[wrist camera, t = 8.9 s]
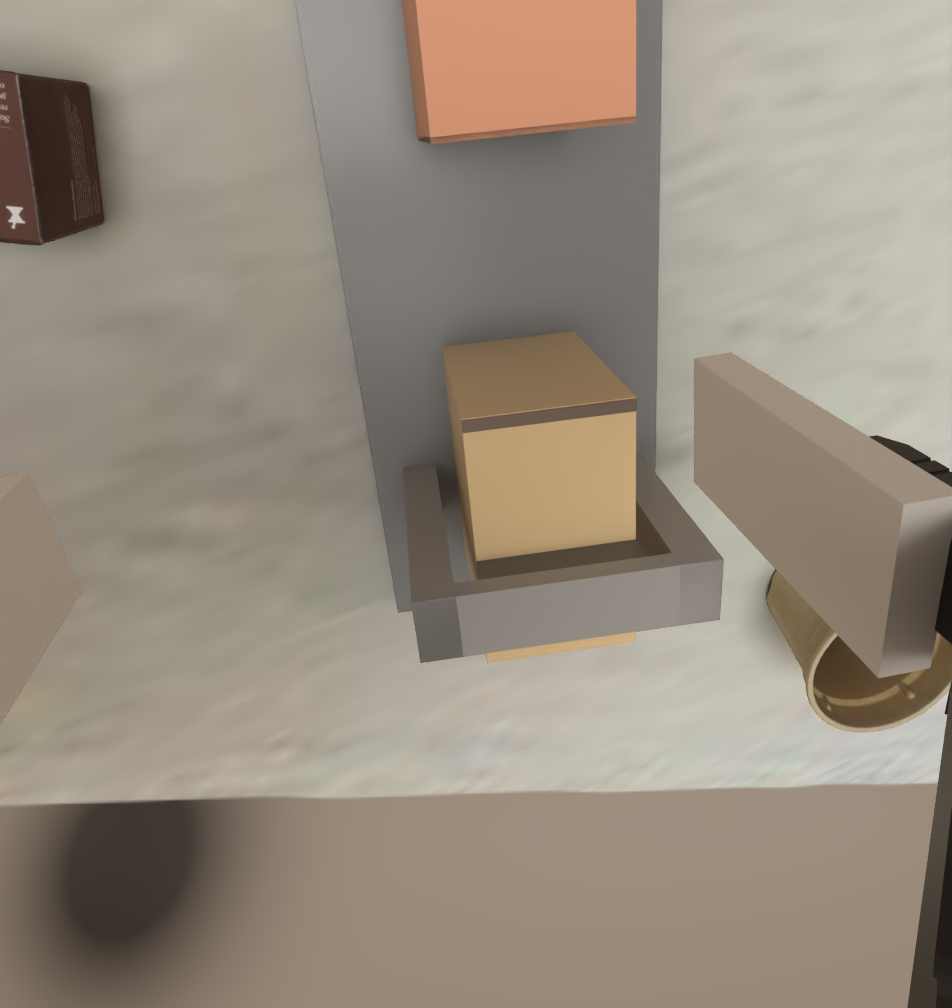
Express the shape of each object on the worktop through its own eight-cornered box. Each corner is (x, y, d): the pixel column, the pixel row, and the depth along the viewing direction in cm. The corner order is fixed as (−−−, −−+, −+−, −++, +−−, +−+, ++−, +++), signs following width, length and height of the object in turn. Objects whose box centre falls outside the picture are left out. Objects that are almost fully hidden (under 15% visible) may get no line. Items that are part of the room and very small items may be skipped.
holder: (398, 605, 47) (403, 781, 34) (294, -10, 33) (238, -98, 20) (649, 570, 48) (746, 729, 35) (656, -43, 34) (824, -149, 21)
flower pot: (909, 551, 50) (1006, 629, 42) (823, 660, 53) (898, 750, 45) (798, 501, 47) (880, 574, 39) (715, 618, 50) (775, 707, 43)
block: (418, 140, 35) (431, 144, 25) (399, -18, 32) (407, -78, 23) (568, 124, 35) (636, 122, 26) (563, -33, 32) (636, -99, 23)
